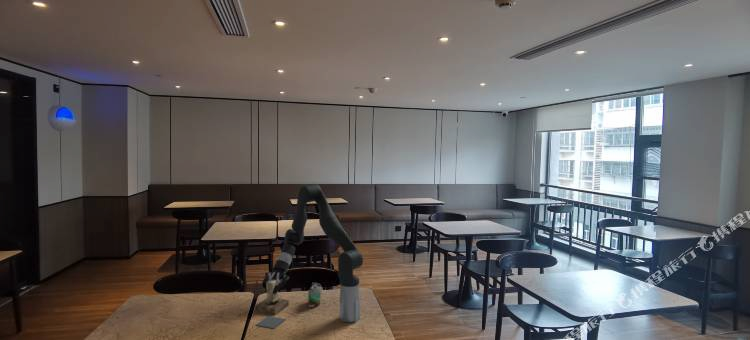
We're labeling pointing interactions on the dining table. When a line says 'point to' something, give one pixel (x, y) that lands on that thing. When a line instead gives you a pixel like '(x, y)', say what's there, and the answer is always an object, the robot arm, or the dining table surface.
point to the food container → (314, 295)
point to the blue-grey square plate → (271, 322)
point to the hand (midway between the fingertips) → (269, 292)
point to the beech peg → (270, 288)
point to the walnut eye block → (272, 306)
